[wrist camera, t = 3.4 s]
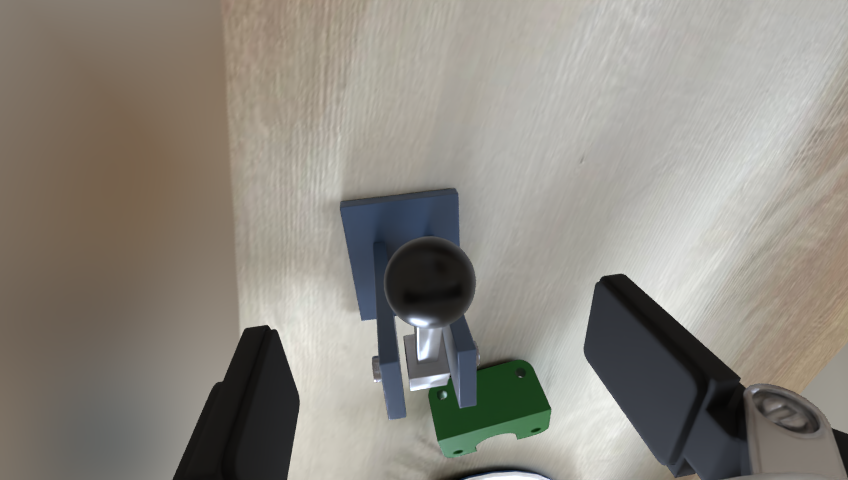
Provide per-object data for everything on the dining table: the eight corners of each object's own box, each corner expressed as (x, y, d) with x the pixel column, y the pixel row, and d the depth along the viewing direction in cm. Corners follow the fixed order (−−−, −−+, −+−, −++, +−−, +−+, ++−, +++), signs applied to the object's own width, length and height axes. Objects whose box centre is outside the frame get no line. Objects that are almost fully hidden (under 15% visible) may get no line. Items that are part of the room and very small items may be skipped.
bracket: (340, 201, 29) (324, 319, 17) (455, 187, 30) (518, 291, 18) (361, 312, 34) (361, 462, 22) (458, 298, 35) (508, 435, 23)
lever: (375, 224, 12) (385, 314, 11) (469, 212, 13) (493, 298, 11) (396, 345, 23) (402, 399, 22) (446, 337, 24) (457, 390, 22)
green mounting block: (444, 375, 46) (430, 456, 40) (436, 351, 42) (419, 438, 36) (547, 387, 43) (548, 478, 37) (550, 363, 39) (552, 460, 32)
